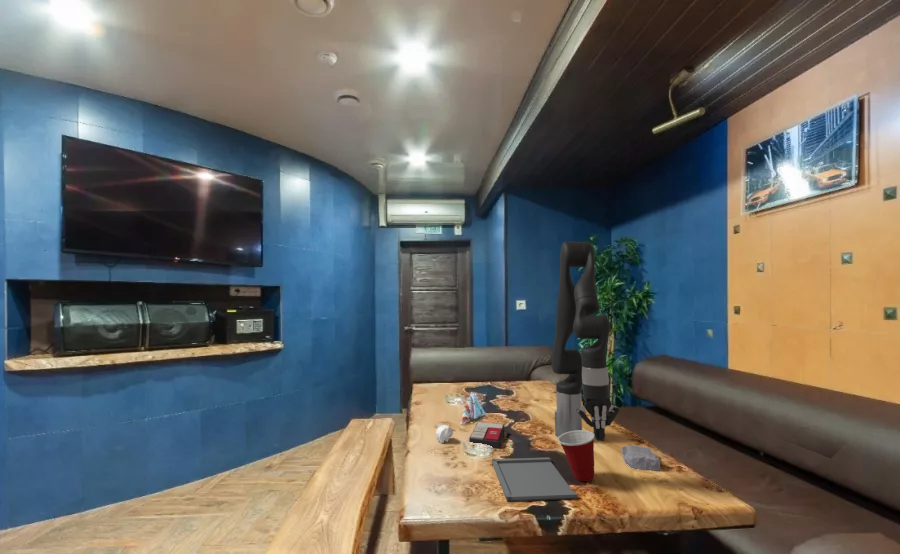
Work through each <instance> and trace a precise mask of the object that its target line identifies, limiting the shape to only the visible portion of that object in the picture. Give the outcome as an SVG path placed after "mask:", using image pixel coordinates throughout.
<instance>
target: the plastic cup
mask: <svg viewBox="0 0 900 554" xmlns="http://www.w3.org/2000/svg"><path fill="white" fill-rule="evenodd" d="M594 439H595V437H594V432H592V431H590V430H585V429H584V430H583V429H582V430H576V431H570V432H566V433H564V434H562V435H560V436H559V437H558V436H557V441H558V443H559V444H560V446H561V447H562V449H563V452H564V455H565V457H566V459H567V462H568V465H569V467H570V469H571V470H570V471H571V472H572V475H573V477H574V479H575V480H577V481H579V482H590V481H592V480H593V479H594V478H595V451H594V447H595V446H594V445H595V440H594Z"/></svg>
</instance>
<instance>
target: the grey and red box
mask: <svg viewBox="0 0 900 554" xmlns="http://www.w3.org/2000/svg"><path fill="white" fill-rule="evenodd" d="M504 436H505V425H504V424H500V423H499V424H498V423H489V422H479V421H478V422H477V423H476V424H475V426H474V428H473V430H472V432H471V434H470V436H469V438H468V439H469V440H468V441H469V442H473V443H482V444H487V445H490V446H492V447H493V448H492V449H496V450H499V449H500V448H501V445H502V442H503V438H504Z"/></svg>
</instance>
